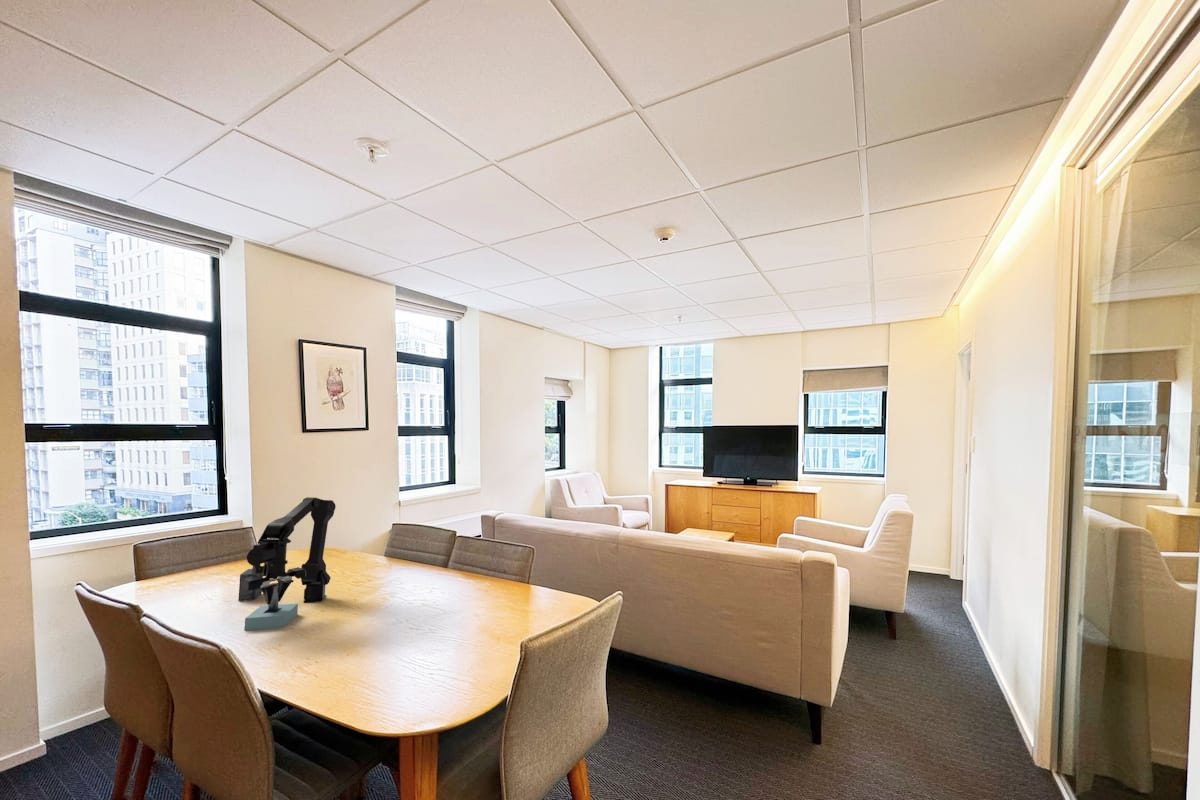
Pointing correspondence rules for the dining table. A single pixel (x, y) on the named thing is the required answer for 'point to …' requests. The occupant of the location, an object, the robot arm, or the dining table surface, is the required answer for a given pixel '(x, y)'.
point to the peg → (274, 598)
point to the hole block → (271, 617)
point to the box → (245, 593)
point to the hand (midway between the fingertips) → (273, 602)
